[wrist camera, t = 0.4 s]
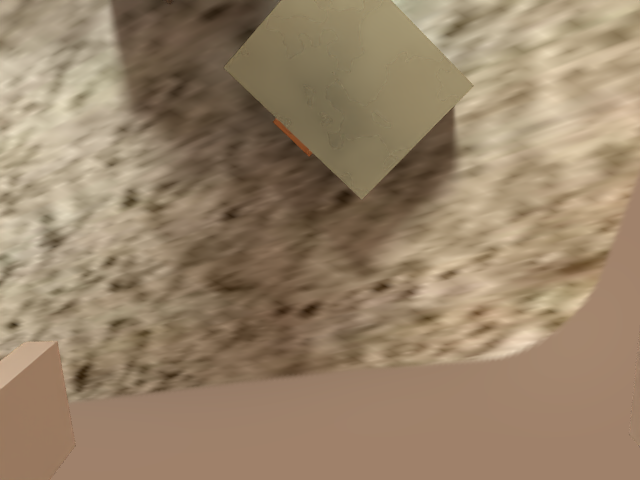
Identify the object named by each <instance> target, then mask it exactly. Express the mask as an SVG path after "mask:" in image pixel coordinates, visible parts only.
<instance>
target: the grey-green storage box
mask: <svg viewBox="0 0 640 480" xmlns="http://www.w3.org/2000/svg"><path fill="white" fill-rule="evenodd" d="M224 69H225V70H226V71H227V72H228V73H229V74H230V75H232V76H233V77H234V78H235V79H236V80H237V81H238V82H239V83H240V84H241V85H242V86H243V87H244V88H245V89H246V90H247V91H248V92H249V93H250V94H251V95H252V96H254V97H255V98H256V99H257V100H258V101H259V102H260V103H261V104H262V105H263V106H264V107H265V108H266V109H267V110H268V111H269V112H270V113H271V114H272V115H273V116H274V117H276V119H275V120H274V121H273V123H274V124H275V125H277V126H278V127H279V128H280V129H281V130H282V131H283V132H284V133H285V134H286V135H287V136H288V137H289V138H290V139H291V140H292V141H293V142H294V143H295V144H296V145H298V146H299V147H300V148H301V149H302V150H303V151H304V152H305V153H306V154H307V155H308V156H310V155H311V154H312V153H313V154H314V155H315V156H316V157H317V158H318V159H320V160H321V161H322V162H323V163H324V164H325V165H326V166H327V167H328V168H329V169H330V170H331V171H332V172H333V173H334V174H335V175H336V176H337V177H338V178H339V179H340V180H342V181H343V182H344V183H345V184H346V185H347V186H348V187H349V188H350V189H351V190H352V191H353V192H354V193H355V194H356V195H357V196H358V197H359V198H360V199H361V200H362V199H363V198H364V197H365V196H366V195H367V194H368V193H369V192H370V191H371V190H372V189H373V188H374V187H375V186H376V185H377V184H378V183H379V182H380V181H381V180H382V179H383V178H384V177H385V176H386V175H387V174H388V173H389V172H390V171H391V170H392V169H393V168H394V167H395V166H396V165H397V164H398V163H399V162H400V161H401V160H402V159H403V158H404V157H405V156H406V155H407V153H408V152H409V151H410V150H411V149H412V148H413V147H414V146H415V145H416V144H417V143H418V142H419V141H420V140H421V139H422V138H423V137H424V136H425V135H426V134H427V133H428V132H429V131H430V130H431V129H432V128H433V127H434V126H435V125H436V124H437V123H438V122H439V121H440V120H441V119H442V118H443V117H444V116H445V115H446V114H447V113H448V112H449V111H450V110H451V109H452V108H453V107H454V106H455V105H456V104H457V103H458V102H459V101H460V99H461V98H462V97H463V96H464V95H465V94H466V93H467V92H468V91H469V90H470V89H471V88H472V87H473V86H474V85H473V84H472V83H471V82H470V81H469V80H468V79H467V78H466V77H465V76H464V75H463V74H462V73H461V72H460V71H459V70H458V69H457V68H456V67H455V66H454V65H453V64H452V63H451V62H450V61H449V60H448V59H447V58H446V57H445V56H444V54H443V53H442V52H441V51H440V50H439V49H438V48H437V47H436V46H435V45H434V44H433V43H432V42H431V41H430V40H429V39H428V38H427V37H426V36H425V35H424V34H423V33H422V32H421V31H420V30H419V29H418V28H417V27H416V26H415V25H414V24H413V22H412V21H411V20H410V19H409V18H408V17H407V16H406V15H405V14H404V13H403V12H402V11H401V10H400V9H399V8H398V7H397V6H396V5H395V4H394V3H393V2H392V1H391V0H281V1H280V2H279V3H278V5H277V6H276V7H275V8H274V9H273V10H272V12H271V13H270V14H269V15H268V16H267V17H266V19H265V20H264V21H263V22H262V23H261V24H260V26H259V27H258V28H257V29H256V30H255V31H254V33H253V34H252V35H251V36H250V37H249V38H248V40H247V41H246V42H245V43H244V44H243V45H242V47H241V48H240V49H239V50H238V51H237V52H236V54H235V55H234V56H233V57H232V58H231V59H230V61H229V62H228V63H227V64H226V65H225V66H224Z"/></svg>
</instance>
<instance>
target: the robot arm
mask: <svg viewBox="0 0 640 480" xmlns="http://www.w3.org/2000/svg"><path fill="white" fill-rule="evenodd" d="M629 435H630V436H631V438H632V439H633V440H634V441H635V442H636V444H637V445H638V446H639V447H640V331H639V341H638V352H637V361H636V371H635V380H634V391H633V400H632V410H631V420H630V430H629ZM75 446H76V445H75V439H74V434H73V428H72V422H71V416H70V411H69V405H68V399H67V394H66V388H65V382H64V376H63V371H62V365H61V359H60V354H59V348H58V342H57V341H38V342H24V343H23V344H22V345H20V346H19V347H18V348H16V349H15V350H14V351H12V352H11V353H10V354H9V355H7V356H6V357H5V358H3V359H2V360H1V361H0V480H50V479H51V477H52V476H53V475H54V474H55V472H56V471H57V469H58V468H59V467H60V466H61V464H62V463H63V462H64V460H65V459H66V458H67V456H68V455H69V454H70V453H71V451H72V450H73V449H74V447H75Z"/></svg>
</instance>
